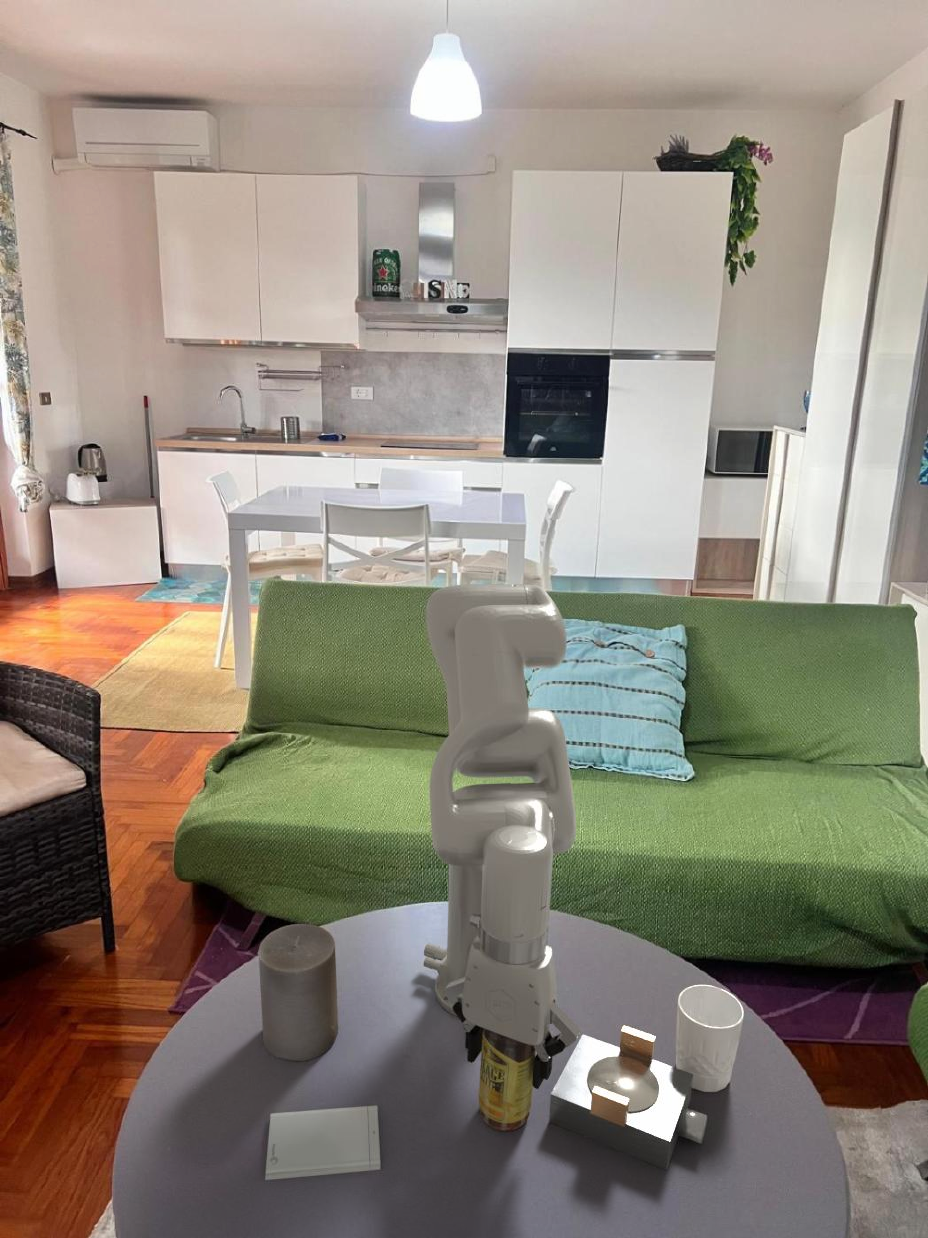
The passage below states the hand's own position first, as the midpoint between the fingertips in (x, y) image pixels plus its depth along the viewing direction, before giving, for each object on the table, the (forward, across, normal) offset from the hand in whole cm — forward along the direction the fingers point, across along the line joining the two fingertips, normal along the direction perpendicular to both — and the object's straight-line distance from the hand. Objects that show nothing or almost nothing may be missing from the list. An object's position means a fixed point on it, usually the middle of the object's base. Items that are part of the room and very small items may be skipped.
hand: (507, 1066), depth 106 cm
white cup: (+7, +19, +18) cm, 27 cm away
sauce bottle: (+7, 0, 0) cm, 7 cm away
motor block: (+7, +13, +7) cm, 17 cm away
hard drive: (+8, -16, -13) cm, 23 cm away
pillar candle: (+7, -29, -1) cm, 30 cm away
